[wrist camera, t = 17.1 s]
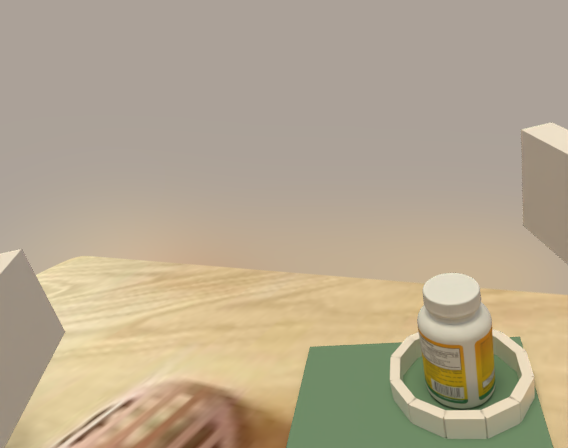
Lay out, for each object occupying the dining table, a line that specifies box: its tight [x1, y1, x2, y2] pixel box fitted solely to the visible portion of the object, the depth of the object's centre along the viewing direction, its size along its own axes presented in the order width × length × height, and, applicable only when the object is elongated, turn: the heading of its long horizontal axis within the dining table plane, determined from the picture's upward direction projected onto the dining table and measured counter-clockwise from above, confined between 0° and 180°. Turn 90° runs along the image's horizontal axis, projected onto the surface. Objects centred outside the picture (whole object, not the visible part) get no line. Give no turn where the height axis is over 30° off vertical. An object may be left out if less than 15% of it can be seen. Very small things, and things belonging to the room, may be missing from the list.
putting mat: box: [286, 337, 553, 448], centre depth 41 cm, size 19×15×1 cm
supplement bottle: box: [417, 273, 495, 409], centre depth 39 cm, size 5×5×10 cm
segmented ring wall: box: [390, 329, 535, 439], centre depth 41 cm, size 11×11×2 cm
